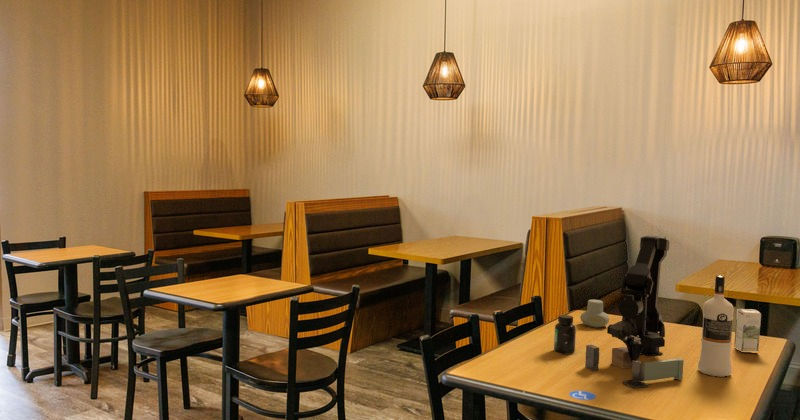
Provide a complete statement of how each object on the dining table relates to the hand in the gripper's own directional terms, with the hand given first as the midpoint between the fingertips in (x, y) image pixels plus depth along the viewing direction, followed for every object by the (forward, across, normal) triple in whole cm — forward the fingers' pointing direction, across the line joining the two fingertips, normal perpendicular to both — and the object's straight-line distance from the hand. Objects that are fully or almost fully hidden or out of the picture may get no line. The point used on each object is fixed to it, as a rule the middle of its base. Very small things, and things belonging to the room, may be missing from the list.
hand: (633, 362), depth 194 cm
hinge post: (+2, +11, -10) cm, 15 cm away
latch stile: (+2, -5, -12) cm, 13 cm away
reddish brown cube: (+2, -4, 0) cm, 5 cm away
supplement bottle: (+2, -23, -9) cm, 24 cm away
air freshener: (+2, -48, +26) cm, 55 cm away
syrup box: (+2, -3, +53) cm, 53 cm away
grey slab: (+2, +11, -1) cm, 12 cm away
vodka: (+2, +11, +22) cm, 25 cm away
